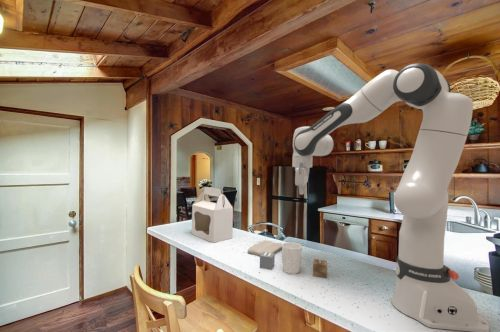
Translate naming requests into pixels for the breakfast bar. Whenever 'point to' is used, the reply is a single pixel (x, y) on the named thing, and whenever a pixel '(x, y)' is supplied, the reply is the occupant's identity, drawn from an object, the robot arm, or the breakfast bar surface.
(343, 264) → the breakfast bar surface
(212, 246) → the breakfast bar surface
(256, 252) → the washcloth
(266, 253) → the slate-grey block
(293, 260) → the white cup
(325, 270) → the walnut block
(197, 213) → the gable box
